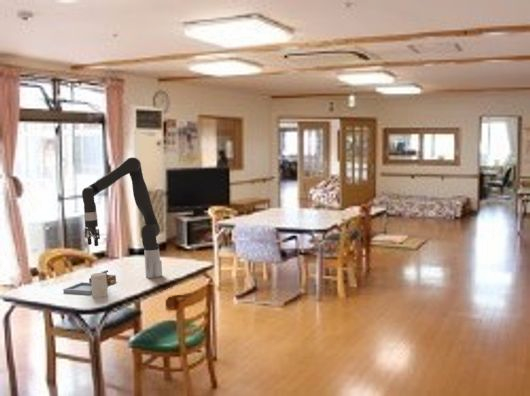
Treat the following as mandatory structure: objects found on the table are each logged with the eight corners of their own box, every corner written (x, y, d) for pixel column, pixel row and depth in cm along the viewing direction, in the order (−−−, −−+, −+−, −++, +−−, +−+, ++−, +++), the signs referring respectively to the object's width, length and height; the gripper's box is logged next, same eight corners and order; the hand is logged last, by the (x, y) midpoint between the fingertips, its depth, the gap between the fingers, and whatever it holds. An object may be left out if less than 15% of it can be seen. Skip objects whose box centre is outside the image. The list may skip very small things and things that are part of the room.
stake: (109, 282, 356) (108, 270, 355) (104, 284, 351) (103, 272, 350) (106, 282, 356) (105, 270, 356) (101, 284, 352) (100, 272, 351)
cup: (99, 298, 320) (97, 276, 319) (89, 296, 325) (87, 275, 324) (110, 294, 327) (109, 273, 326) (100, 293, 332) (98, 272, 330)
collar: (118, 281, 357) (118, 275, 357) (107, 286, 347) (107, 279, 346) (100, 280, 362) (100, 274, 361) (89, 285, 351) (89, 278, 351)
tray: (107, 287, 344) (107, 283, 344) (90, 294, 329) (90, 290, 329) (81, 285, 350) (81, 282, 350) (63, 292, 336) (63, 289, 335)
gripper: (102, 219, 358) (104, 245, 360) (91, 217, 369) (93, 243, 370) (90, 220, 353) (92, 247, 355) (79, 219, 364) (82, 245, 365)
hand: (93, 245), depth 363 cm, fingers open, 8 cm apart
